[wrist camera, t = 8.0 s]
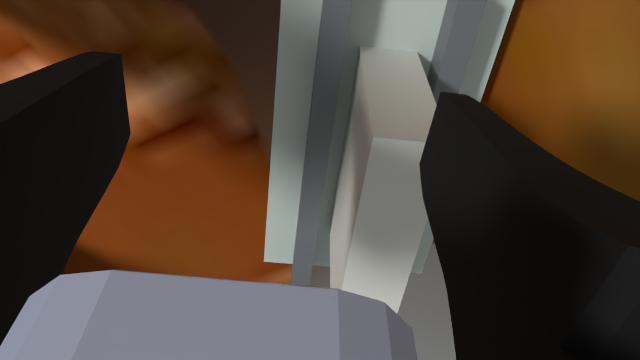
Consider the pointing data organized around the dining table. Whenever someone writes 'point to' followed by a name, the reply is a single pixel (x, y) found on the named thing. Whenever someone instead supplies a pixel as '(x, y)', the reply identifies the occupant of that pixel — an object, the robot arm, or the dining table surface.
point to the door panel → (381, 176)
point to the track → (335, 94)
